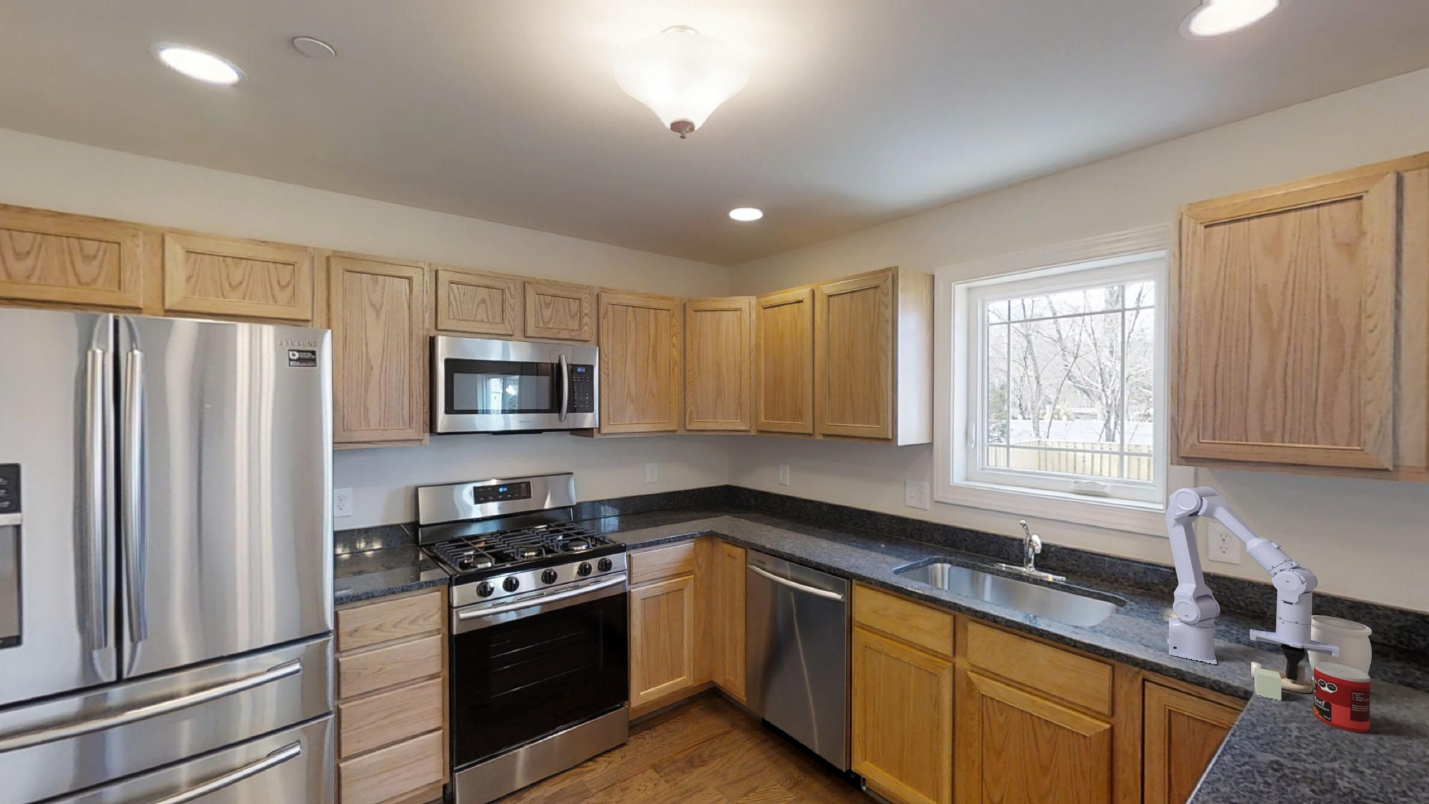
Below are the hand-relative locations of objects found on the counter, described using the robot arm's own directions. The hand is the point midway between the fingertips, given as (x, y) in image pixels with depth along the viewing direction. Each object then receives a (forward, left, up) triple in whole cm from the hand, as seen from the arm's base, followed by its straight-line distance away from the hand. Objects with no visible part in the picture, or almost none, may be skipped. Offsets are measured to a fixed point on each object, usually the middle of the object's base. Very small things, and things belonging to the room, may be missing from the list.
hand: (1291, 678), depth 134 cm
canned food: (+6, -12, -3) cm, 14 cm away
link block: (-5, -6, -3) cm, 8 cm away
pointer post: (-6, +3, -3) cm, 7 cm away
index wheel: (0, +3, -3) cm, 4 cm away
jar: (+9, +10, -3) cm, 13 cm away
